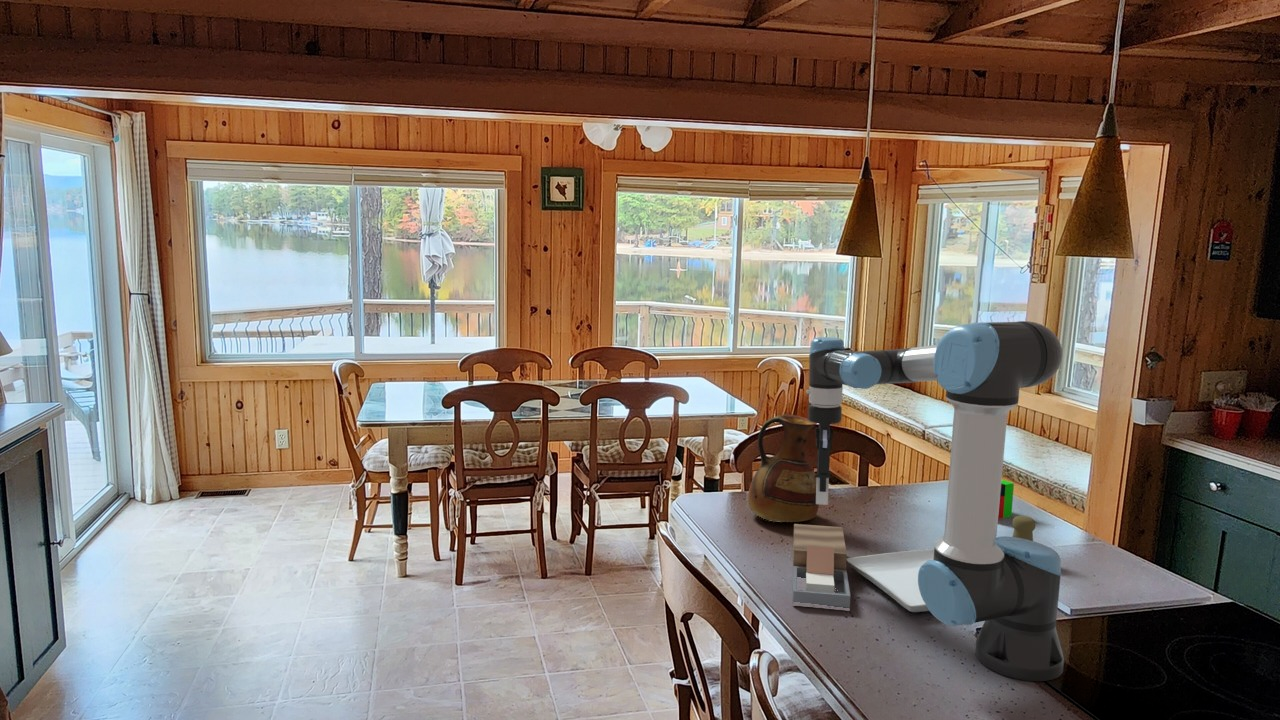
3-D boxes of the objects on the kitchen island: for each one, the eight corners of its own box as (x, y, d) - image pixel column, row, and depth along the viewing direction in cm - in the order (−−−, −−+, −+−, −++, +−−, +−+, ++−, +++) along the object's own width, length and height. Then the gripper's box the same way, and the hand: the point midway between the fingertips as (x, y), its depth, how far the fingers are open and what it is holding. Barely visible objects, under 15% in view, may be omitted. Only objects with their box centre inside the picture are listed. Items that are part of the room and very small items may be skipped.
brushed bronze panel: (845, 582, 188) (846, 553, 187) (792, 578, 190) (793, 550, 189) (841, 553, 205) (842, 527, 204) (793, 550, 207) (794, 523, 206)
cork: (1037, 565, 198) (1040, 522, 197) (1011, 563, 199) (1014, 520, 198) (1030, 555, 204) (1034, 514, 203) (1005, 554, 205) (1008, 512, 204)
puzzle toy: (959, 510, 238) (961, 478, 237) (983, 506, 243) (985, 474, 241) (986, 521, 229) (988, 487, 228) (1011, 516, 234) (1013, 483, 232)
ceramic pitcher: (820, 532, 220) (824, 425, 216) (745, 527, 223) (748, 421, 219) (817, 509, 239) (821, 410, 235) (748, 505, 242) (751, 407, 238)
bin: (849, 611, 173) (850, 595, 172) (792, 606, 175) (793, 591, 175) (845, 584, 187) (846, 570, 186) (792, 580, 189) (793, 566, 188)
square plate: (908, 623, 169) (909, 605, 168) (842, 571, 195) (843, 556, 194) (1017, 608, 176) (1019, 591, 175) (940, 560, 202) (940, 545, 201)
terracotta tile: (832, 575, 185) (833, 574, 183) (806, 573, 186) (806, 572, 184) (833, 549, 187) (834, 547, 185) (806, 547, 189) (807, 545, 186)
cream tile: (833, 574, 183) (832, 587, 183) (806, 572, 184) (805, 584, 184) (834, 585, 177) (833, 598, 177) (806, 583, 178) (806, 596, 179)
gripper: (807, 398, 193) (805, 494, 196) (808, 409, 180) (806, 511, 184) (840, 400, 192) (836, 496, 195) (843, 410, 179) (839, 513, 182)
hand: (821, 503), depth 189 cm, fingers closed
